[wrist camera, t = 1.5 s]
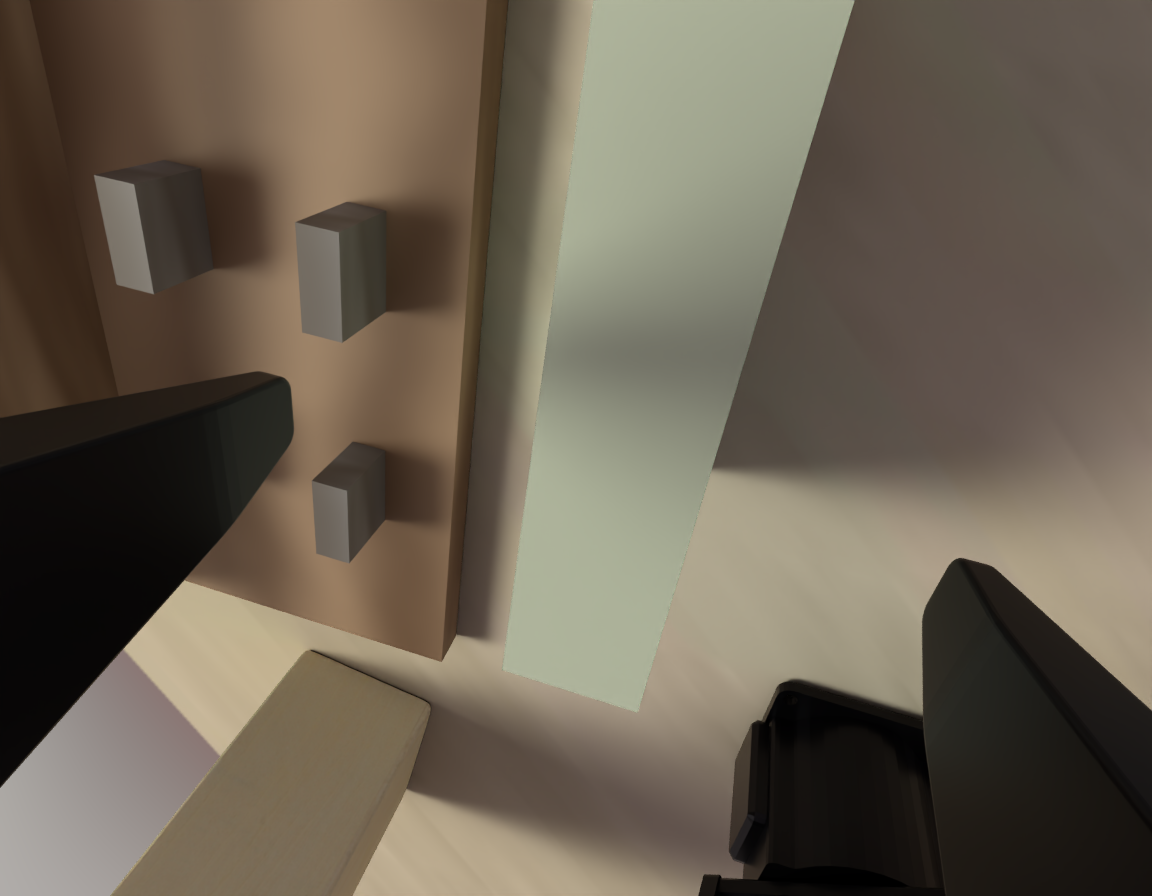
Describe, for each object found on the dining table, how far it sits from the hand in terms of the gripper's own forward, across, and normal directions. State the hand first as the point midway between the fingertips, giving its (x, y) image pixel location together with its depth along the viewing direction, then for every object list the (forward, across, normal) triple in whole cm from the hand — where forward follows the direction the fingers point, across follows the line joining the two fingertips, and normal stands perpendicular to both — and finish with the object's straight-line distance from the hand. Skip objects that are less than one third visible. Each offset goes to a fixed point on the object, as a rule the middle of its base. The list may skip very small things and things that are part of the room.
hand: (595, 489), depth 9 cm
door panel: (+12, 0, 0) cm, 12 cm away
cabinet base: (+12, +13, +6) cm, 19 cm away
